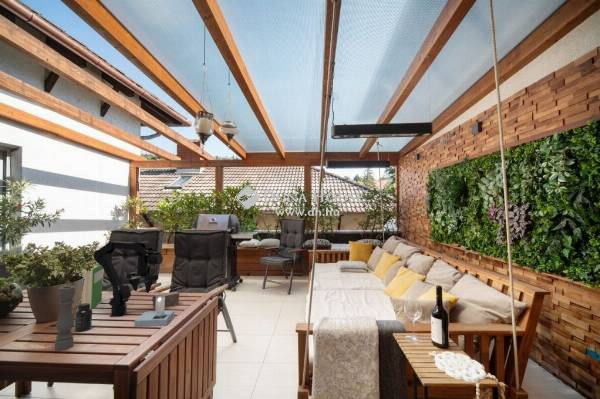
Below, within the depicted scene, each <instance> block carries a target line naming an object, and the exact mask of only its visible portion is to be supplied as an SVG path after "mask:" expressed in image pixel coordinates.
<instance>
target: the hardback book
mask: <svg viewBox="0 0 600 399" xmlns="http://www.w3.org/2000/svg"><path fill="white" fill-rule="evenodd" d="M80 275H81V276H83V277H85V281H84V287H83V292H82V296H81V300H80V303H79V304H84V303H90V309H91V310H94V309H95V308H96V307H97V306H98V305H99V304H101V303H102V301H103V299H102V297H103V281H104V280H103V276H104V269H103V267H102V266H101V265H100V264H98V263H97V264H96V263H95V266H94V268H93V269H92V270H91V271H90V272H85V271H84V272H82V273H81V274H80V273H79V276H80Z"/></svg>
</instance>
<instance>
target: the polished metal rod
mask: <svg viewBox="0 0 600 399" xmlns="http://www.w3.org/2000/svg"><path fill="white" fill-rule="evenodd" d="M154 309H155V310H154V311H155V319H164V311H166V310H165V297H164V296H160V297H156V304H155V308H154Z"/></svg>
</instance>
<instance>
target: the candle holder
mask: <svg viewBox="0 0 600 399" xmlns="http://www.w3.org/2000/svg"><path fill="white" fill-rule="evenodd" d="M57 291H58V292H57V293H58V294H57V295H58V299H59V301H58V305H59V306H60V309H59V315H58V318H57V321H56V325H55V330H56V331H57V333H58V334H57V336H56V337H55V341H54V351H55V352H61V351H62V352H63V351H67V350H69V349H71V348H73V347H74V334H73V332H72V329H73V327H75V319H74V316H73V312H72V310H73V309H72V307H73V306H72V305H73V303H75V302H74V301H75V300H74V299H73V298H74V296H75V295H76V285H66V286H61V287H58V290H57ZM66 349H67V350H66Z"/></svg>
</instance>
